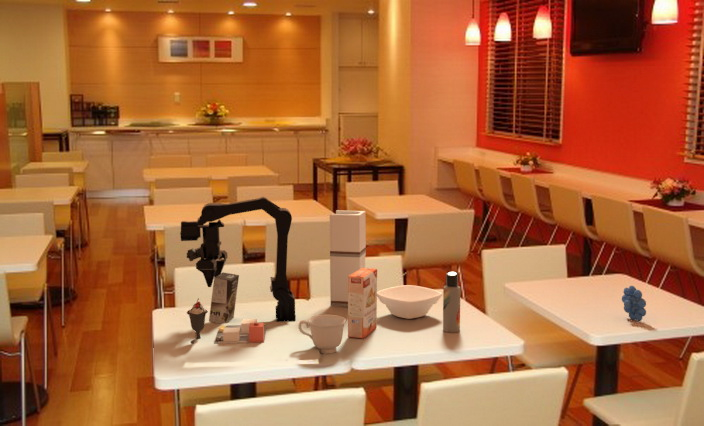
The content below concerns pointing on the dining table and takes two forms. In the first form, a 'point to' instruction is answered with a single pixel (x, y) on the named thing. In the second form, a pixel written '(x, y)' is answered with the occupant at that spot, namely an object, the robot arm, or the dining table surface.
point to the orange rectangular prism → (256, 332)
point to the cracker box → (362, 302)
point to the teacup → (325, 331)
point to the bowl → (409, 300)
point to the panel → (243, 335)
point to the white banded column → (345, 251)
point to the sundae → (197, 318)
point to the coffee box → (223, 298)
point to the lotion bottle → (451, 303)
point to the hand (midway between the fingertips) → (213, 283)
